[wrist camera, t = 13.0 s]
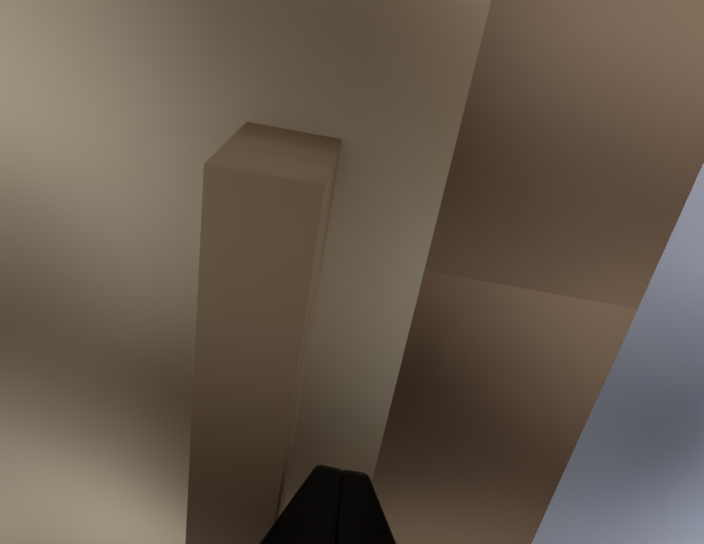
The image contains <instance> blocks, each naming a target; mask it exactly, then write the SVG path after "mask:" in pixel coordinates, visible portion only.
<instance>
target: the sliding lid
mask: <svg viewBox="0 0 704 544" xmlns="http://www.w3.org/2000/svg"><path fill="white" fill-rule="evenodd" d="M490 4H491V0H0V544H260V542H261V541H262V539H263V538H264V537H265V535H266V534H267V533H268V531H269V530H270V528H271V527H272V526H273V524H274V523H275V521H276V520H277V519H278V517H279V516H280V514H281V513H282V512H283V510H284V509H285V507H286V506H287V505H288V503H289V502H290V500H291V499H292V498H293V496H294V495H295V493H296V492H297V491H298V489H299V488H300V486H301V485H302V484H303V482H304V481H305V479H306V478H307V477H308V475H309V474H310V472H311V471H312V470H313V468H314V467H315V466H317V465H325V466H331V467H336V468H340V469H341V470H344V469H347V470H352V471H358V472H363V473H366V474H367V475H368V476H369V478H370V480H371V482H372V479H373V475H374V471H375V467H376V463H377V459H378V455H379V450H380V446H381V442H382V438H383V434H384V430H385V426H386V422H387V418H388V414H389V410H390V406H391V402H392V398H393V394H394V390H395V386H396V382H397V378H398V374H399V370H400V366H401V362H402V358H403V354H404V350H405V346H406V342H407V338H408V334H409V330H410V326H411V322H412V318H413V314H414V310H415V306H416V302H417V298H418V294H419V290H420V285H421V281H422V277H423V273H424V269H425V265H426V261H427V257H428V253H429V249H430V245H431V241H432V237H433V233H434V229H435V225H436V221H437V217H438V213H439V209H440V205H441V201H442V197H443V193H444V189H445V185H446V181H447V177H448V173H449V169H450V165H451V161H452V157H453V153H454V149H455V145H456V141H457V137H458V133H459V129H460V125H461V120H462V116H463V112H464V108H465V104H466V100H467V96H468V92H469V88H470V84H471V80H472V76H473V72H474V68H475V64H476V60H477V56H478V52H479V48H480V44H481V40H482V36H483V32H484V28H485V24H486V20H487V16H488V12H489V8H490Z"/></svg>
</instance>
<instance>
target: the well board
mask: <svg viewBox="0 0 704 544" xmlns="http://www.w3.org/2000/svg"><path fill="white" fill-rule="evenodd" d="M703 163H704V0H491V4H490V8H489V12H488V16H487V20H486V24H485V28H484V32H483V36H482V40H481V44H480V48H479V52H478V56H477V60H476V64H475V68H474V72H473V76H472V80H471V84H470V88H469V92H468V96H467V100H466V104H465V108H464V112H463V116H462V120H461V125H460V129H459V133H458V137H457V141H456V145H455V149H454V153H453V157H452V161H451V165H450V169H449V173H448V177H447V181H446V185H445V189H444V193H443V197H442V201H441V205H440V209H439V213H438V217H437V221H436V225H435V229H434V233H433V237H432V241H431V245H430V249H429V253H428V257H427V261H426V265H425V269H424V273H423V277H422V281H421V285H420V290H419V294H418V298H417V302H416V306H415V310H414V314H413V318H412V322H411V326H410V330H409V334H408V338H407V342H406V346H405V350H404V354H403V358H402V362H401V366H400V370H399V374H398V378H397V382H396V386H395V390H394V394H393V398H392V402H391V406H390V410H389V414H388V418H387V422H386V426H385V430H384V434H383V438H382V442H381V446H380V450H379V455H378V459H377V463H376V467H375V471H374V475H373V479H372V485H373V487H374V490H375V492H376V495H377V497H378V500H379V502H380V504H381V507H382V509H383V512H384V514H385V517H386V519H387V522H388V524H389V527H390V529H391V532H392V534H393V537H394V539H395V542H396V544H531V543H532V540H533V538H534V536H535V534H536V532H537V529H538V527H539V525H540V523H541V521H542V518H543V516H544V514H545V512H546V510H547V507H548V505H549V503H550V501H551V498H552V496H553V494H554V492H555V490H556V487H557V485H558V483H559V481H560V479H561V476H562V474H563V472H564V470H565V468H566V465H567V463H568V461H569V459H570V456H571V454H572V452H573V450H574V448H575V445H576V443H577V441H578V439H579V437H580V434H581V432H582V430H583V428H584V426H585V423H586V421H587V419H588V417H589V414H590V412H591V410H592V408H593V406H594V403H595V401H596V399H597V397H598V395H599V392H600V390H601V388H602V386H603V384H604V381H605V379H606V377H607V375H608V373H609V370H610V368H611V366H612V364H613V361H614V359H615V357H616V355H617V353H618V350H619V348H620V346H621V344H622V342H623V339H624V337H625V335H626V333H627V331H628V328H629V326H630V324H631V322H632V319H633V317H634V315H635V313H636V311H637V308H638V306H639V304H640V302H641V300H642V297H643V295H644V293H645V291H646V289H647V286H648V284H649V282H650V280H651V277H652V275H653V273H654V271H655V269H656V266H657V264H658V262H659V260H660V258H661V255H662V253H663V251H664V249H665V247H666V244H667V242H668V240H669V238H670V236H671V233H672V231H673V229H674V227H675V224H676V222H677V220H678V218H679V216H680V213H681V211H682V209H683V207H684V205H685V202H686V200H687V198H688V196H689V194H690V191H691V189H692V187H693V185H694V182H695V180H696V178H697V176H698V174H699V171H700V169H701V167H702V165H703Z"/></svg>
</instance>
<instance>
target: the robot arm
mask: <svg viewBox="0 0 704 544" xmlns="http://www.w3.org/2000/svg"><path fill="white" fill-rule="evenodd" d="M260 544H396V542H395V539H394V537H393V534H392V532H391V529H390V527H389V524H388V522H387V519H386V517H385V514H384V512H383V509H382V507H381V504H380V502H379V500H378V497H377V495H376V492H375V490H374V487H373V485H372V482H371V480H370V478H369V476H368V475H367V474H366V473H363V472H358V471H352V470H347V469H344V470H341V469H340V468H336V467H331V466H325V465H317V466H315V467H314V468H313V470H312V471H311V472H310V474H309V475H308V477H307V478H306V479H305V481H304V482H303V484H302V485H301V486H300V488H299V489H298V491H297V492H296V493H295V495H294V496H293V498H292V499H291V500H290V502H289V503H288V505H287V506H286V507H285V509H284V510H283V512H282V513H281V514H280V516H279V517H278V519H277V520H276V521H275V523H274V524H273V526H272V527H271V528H270V530H269V531H268V533H267V534H266V535H265V537H264V538H263V539H262V541H261V542H260Z"/></svg>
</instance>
